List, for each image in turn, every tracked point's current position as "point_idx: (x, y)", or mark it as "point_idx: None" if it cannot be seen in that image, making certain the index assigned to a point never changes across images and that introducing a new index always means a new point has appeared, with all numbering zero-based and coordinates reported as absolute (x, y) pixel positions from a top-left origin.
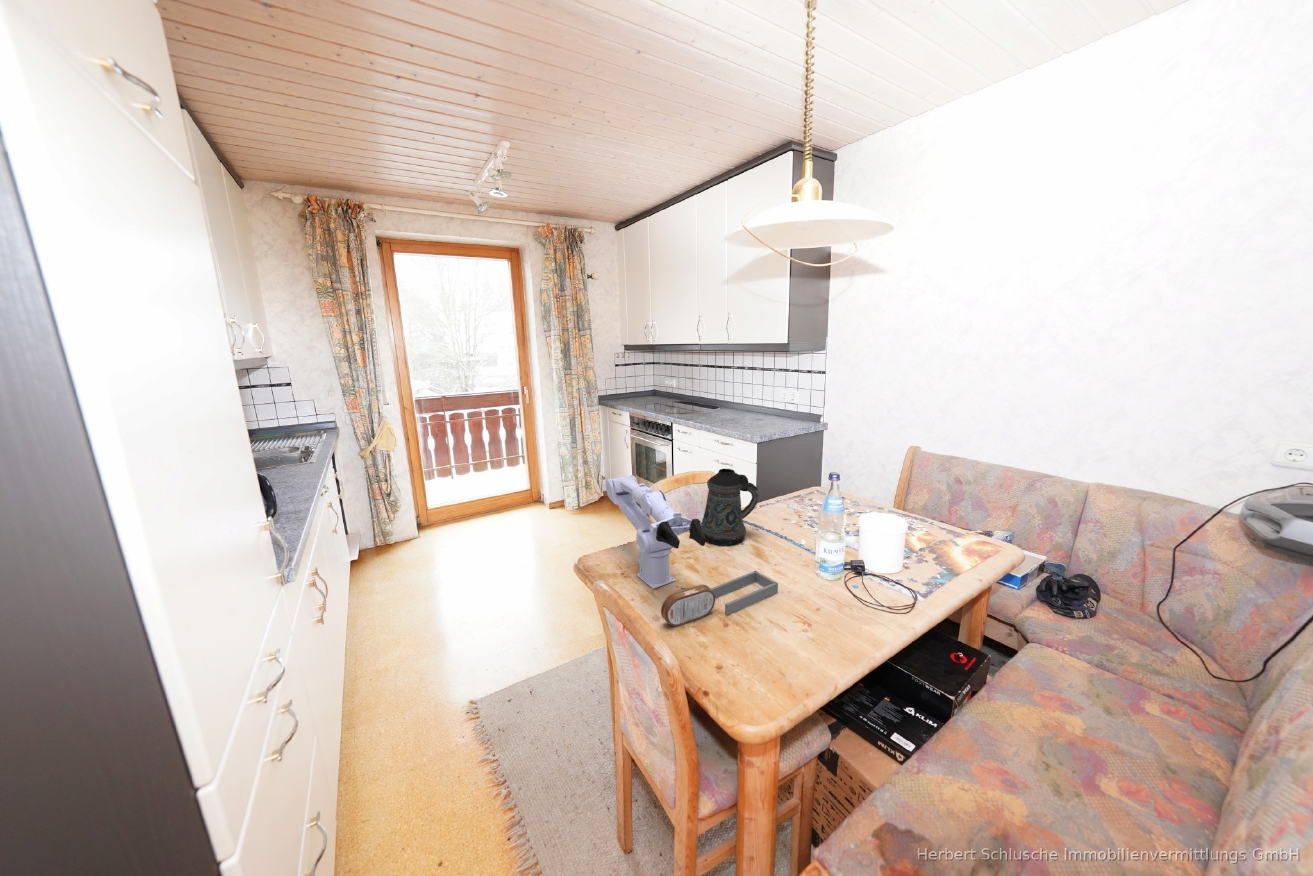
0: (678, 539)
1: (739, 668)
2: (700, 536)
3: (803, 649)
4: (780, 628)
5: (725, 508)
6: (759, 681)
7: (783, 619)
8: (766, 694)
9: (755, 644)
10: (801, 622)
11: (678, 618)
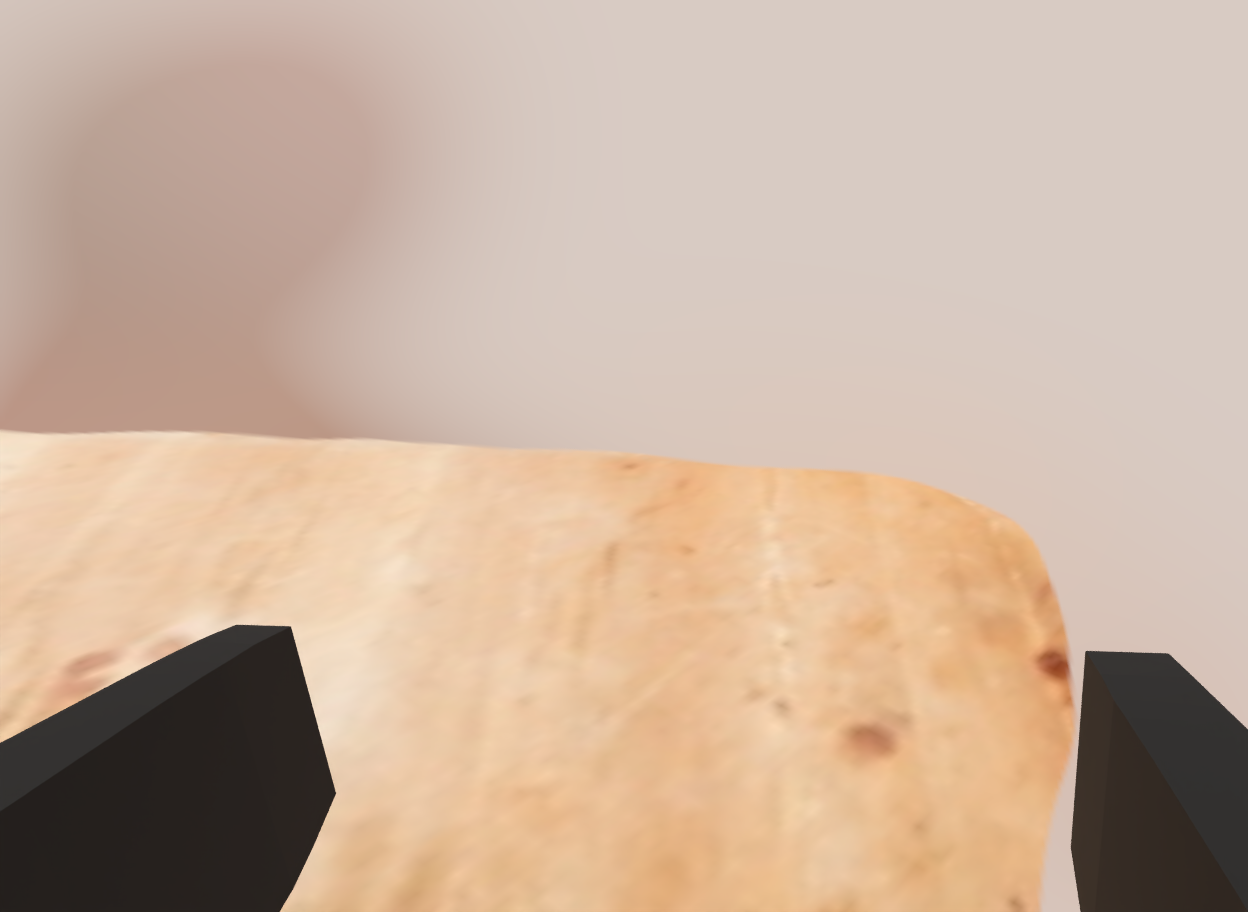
0: (1122, 672)
1: (768, 674)
2: (186, 763)
3: (359, 583)
4: None
5: None
6: (745, 580)
7: None
8: (777, 532)
9: (517, 738)
10: None
11: None
